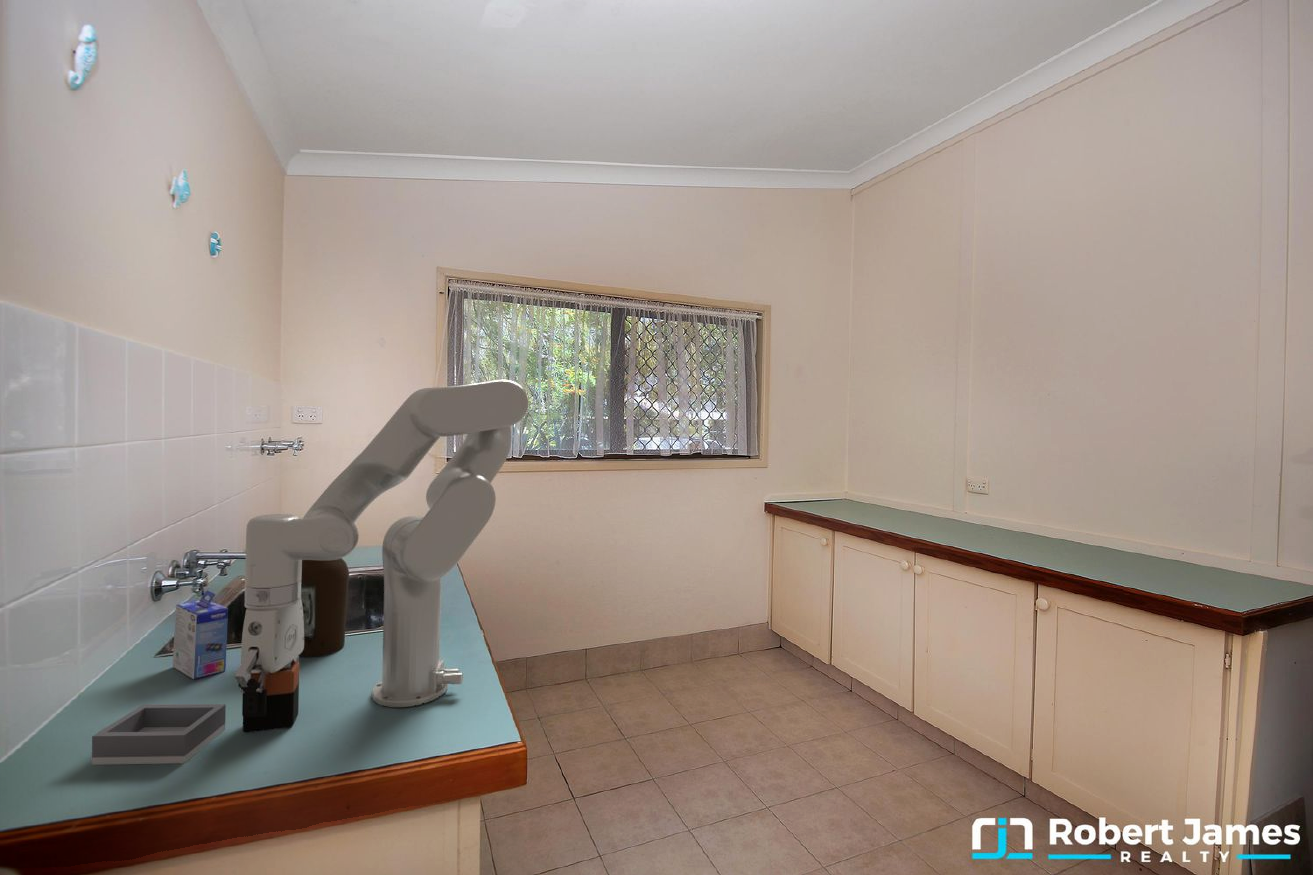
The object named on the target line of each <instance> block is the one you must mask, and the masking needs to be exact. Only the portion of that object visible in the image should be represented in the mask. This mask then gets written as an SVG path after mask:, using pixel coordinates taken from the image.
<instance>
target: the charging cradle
mask: <svg viewBox="0 0 1313 875" xmlns="http://www.w3.org/2000/svg"><path fill="white" fill-rule="evenodd" d="M226 709H227V708H226V704H225V703H222V704H217V703H215V704H214V703H213V704H211V703H210V704H209V703H208V704H205V703H204V704H203V703H202V704H199V703H198V704H197V703H196V704H195V703H194V704H142V705H140V706H138V707H137V708H135V709H134V710H132V711H130V712H129V713H127V714H125V715H124V716H123V717H120V718H119V719H117V720H116V721H115V722H112V723H111V724H109V725H108V726H106V727H104V728H103V729H102V730H100V731H98V732H97V733H95V734H94V735H92V736H91V738H92V739H91V765H94V766H95V765H99V766H100V765H149V764H150V765H151V764H155V765H157V764H158V765H159V764H186V763H187V762H188V761H189V760H190V759H191V758H193V757H194V756H195V755H197V754H198V753H199V752H200V751H201V750H202V749H204V747H206V746H207V745H208V744H210V743H211V742H212V741H213V740H214V739H216V738H217V737H219V735H221V734H222V733H223V732H224V731H225V730H226V716H227V715H226V712H227V710H226Z"/></svg>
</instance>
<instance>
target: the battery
mask: <svg viewBox="0 0 1313 875" xmlns="http://www.w3.org/2000/svg"><path fill="white" fill-rule="evenodd" d="M255 669H263V668H262V666H258V667H257V668H255ZM260 676H261V675H253V677H252V678H254V679H255V680H256V681H257V682H259V679H260ZM299 687H300V662H292V661H291V662H289V663H288V664H287V665H285V666H284V667H283V668H281V669H280V670H279V671H277V672H276V673H269V674H268V677H267V681H266V684H265V687H264V689H267V710H266V715H265V716H263V717H243V716H242V732H243V733H247V734H248V733H257V732H263V731H264V732H265V731H271V730H272V731H273V730H280V729H287V728H291V727H293V725H294V724H295V722H296V720H297V717H298V715H299V701H300V700H299V697H300V695H299V694H300V693H299V692H300V688H299Z"/></svg>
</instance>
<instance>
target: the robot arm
mask: <svg viewBox="0 0 1313 875" xmlns="http://www.w3.org/2000/svg"><path fill="white" fill-rule="evenodd" d="M528 409H529V399H528V394H527V393H526V391H525V390H524V387H522V386H521V385H520V384H519V383H517V382H515V381H512V380H509V379H494V380H486V381H484V380H483V381H480V382H478V383H477V382H476V383H471V384H464V385H463V384H462V385H451V386H450V385H449V386H436V387H425V388H424V387H423V388H420V389H417V390H415V391H414V392H413V393H412V394H410V395H409V396H408V397H407V398H406V400H405V401H404V402H403V403H402V404H401V405H400V406H399V408H398V409H397V410H396V411H395V413H394V414H393V415H392V416H391V418H389V420H388V421H387V422H386V424H385V425H384V426H383V427H382V428H381V429H380V431H379V432H378V433H377V434H376V435H375V436H374V438H373V439H372V440H371V441H370V442H369V443H368V444H367V446H366V447H364V449H363V450H362V452H361V453H359V454H358V455H357V456H356V457H355V458H354V459H353V460H352V461H351V462H350V463H349V465H348V466H347V467H346V468H345V469H344V470H343V471H342V472H341V473H339V475H338V476H337V477H336V478H335V479H334V480H332V482H331V483H330V484H329V485H328V486H327V488H326V489H325V490H324V491H323V493H321V495H320V496H319V497H318V498H317V499H316V501H315V502H314V503H313V504H312V505H311V507H310V508H309V509H308V510H307V512H306V513H305V515H304V516H303V517H302V518H300V516H298V515H295V514H290V513H289V514H288V513H271V514H263V515H257V516H254V517H252V518H251V519H250V520H249V521H248V523H247V524H246V530H245V565H244V566H245V567H244V569H245V570H244V575H245V576H244V608H246V610H245V614H244V620H243V626H242V636H241V646H240V650H241V651H240V665H239V667H238V668H237V670H236V672H235V674H234V676H235V679H236V681H237V683H238V684H237V686H238V688H239V689H240V693H242V698H241V699H242V704H241V706H242V708H241V715H242V718H243V717H263V716H265V715H266V710H267V689H264V687H265V684H266V681H267V677H268V674H269V673H276V672H277V671H279V670H280V669H281V668H283V667H284V666H285V665H287V664H288V663H289V662H291V661H292V662H299V661H300V656H298V655H299V654H300V653H301V652H302V651H303V649H304V618H303V607H302V600H301V581H302V580H301V578H302V560H319V561H331V560H337V559H340V558H342V559H343V558H345V557H346V556H348V555H350V554H352V552H353V551H354V550H355V548H356V547H357V545H358V543H359V536H360V535H359V530H358V528H357V526H356V524H355V523H356V521H357V520H358V519H359V517H361V515H363V513H364V511H365V510H366V509H367V508H368V507H369V506H370V505H371V504H372V503H373V502H374V501H375V500H376V499H377V498H378V497H380V496H381V495H382V494H384V493H385V492H387V491H389V490H391V489H393V488H395V487H397V486H398V485H400V484H402V483H403V482H405V481H406V480H407V479H408V478H409V477H410V476H411V474H412V473H413V472H414V470H415V469H416V468H417V466H418V465H419V464H420V463H421V461H422V460H423V459H424V458H425V456H426V455H427V454H428V453H429V451H431V449H432V447H433V446H435V444H436V442H437V441H438V440H439V439H440V438H441V437H453V436H460V435H466V437H465V438H464V440H463V441H462V444H461V445H460V446H459V447H458V449H457V450H456V452H455V453H454V455H453V456H452V457H451V458H450V459H449V460H448V461H447V463H446V465H444V467H443V468H442V469H441V470H440V472H439V473H438V474H437V475H436V476H435V477H434V479H433V480H432V481H431V482H430V484H429V486H428V488H427V490H426V494H425V499H426V504H427V507H428V508H429V510H428V511H427V512H426V514H425V515H424V516H423V517H422V516H419V515H418V516H417V515H411V516H405V517H402V518H400V519H398V520H396V521H395V522H393V524H391V525H390V527H389V528H388V529H387V530H386V532H385V534H384V537H383V540H382V547H381V555H382V556H381V557H382V568H383V570H382V571H383V585H384V586H383V592H384V593H383V623H382V624H383V630H382V632H383V633H382V670H381V671H382V673H381V674H382V675H381V676H382V677H381V680H380V681H378V682H377V683H376V684H375V685H374V686H373V687H372V689H371V698H372V700H373V701H374V702H375V703H376V704H378V705H381V706H383V707H384V706H385V707H389V708H409V707H410V708H411V707H416V706H420V705H423V704H422V703H424V704H427V703H430V702H431V701H434V700H437V699H438V698H440V697H441V696H443V694H445V692H446V691H447V690H446V689H448V685H462V684H463V680H464V673H462V672H460V669H459V668H447V667H444V666H445V660H444V659H441V660H440V653H441V652H440V650H441V649H440V648H441V644H440V643H441V615H442V614H441V612H442V607H441V606H442V578H443V577H445V576H446V575H447V574H449V573H450V572H451V571H452V570H453V569H454V568H455V567H456V565H457V564H458V563H459V561H460V560H461V559H462V558H463V556H464V555H465V553H466V552H467V551H468V550H469V548H470V547H471V545H472V544H473V542H474V541H475V540H476V538H478V536H479V535H480V534H481V533H482V531H483V530H484V528H485V526H486V525H487V523H488V522H489V521H490V520H491V517H492V516H493V513H494V510H495V506H496V499H497V498H496V491H495V489H494V487H493V484H492V482H493V480H494V479H495V477H496V476H497V474H498V472H499V471H500V470H501V468H502V467H503V466H504V464H505V463H506V460H507V459H508V456H509V454H510V451H511V446H512V429H511V428H512V426H514V425H515V424H518V423H519V422H520V421H522V419H524V417H525V416H526V414H527V412H528ZM299 663H300V662H299ZM258 666H262V668H263V669H255V668H257V667H258ZM253 675H261V676H260V679H259V682H257V681H256V680H255V679H254V678H252V677H253ZM439 696H440V697H439ZM415 705H416V706H415Z"/></svg>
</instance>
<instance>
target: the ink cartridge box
mask: <svg viewBox="0 0 1313 875" xmlns="http://www.w3.org/2000/svg"><path fill="white" fill-rule="evenodd" d="M207 596H209V599H207V598H206V597H207ZM215 596H216V593H215V592H212V591H210V590H205V592H204V594H203V595H202V597H201V598H200V599H199V600H194V601H188V602H182V603H179V604H176V605H175V614H174V616H175V617H174V618H175V619H174V635H173V637H174V638H173V652H172V653H173V654H172V667H173V668H175V669H176V670H178V671H180V672H181V673H183V674H184V675H186V676H188V677H189V678H191V679H193V680H196V679H200V678H203V677H207V676H212V675H215V674H218V673H223V672H226V671H227V669H226V668H227V667H226V666H227V646H228V645H227V642H228V639H227V638H228V619H229V618H228V617H229V607H227V606H223V605H222V604H218V603H216V602H213V600H214V598H215Z"/></svg>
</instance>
